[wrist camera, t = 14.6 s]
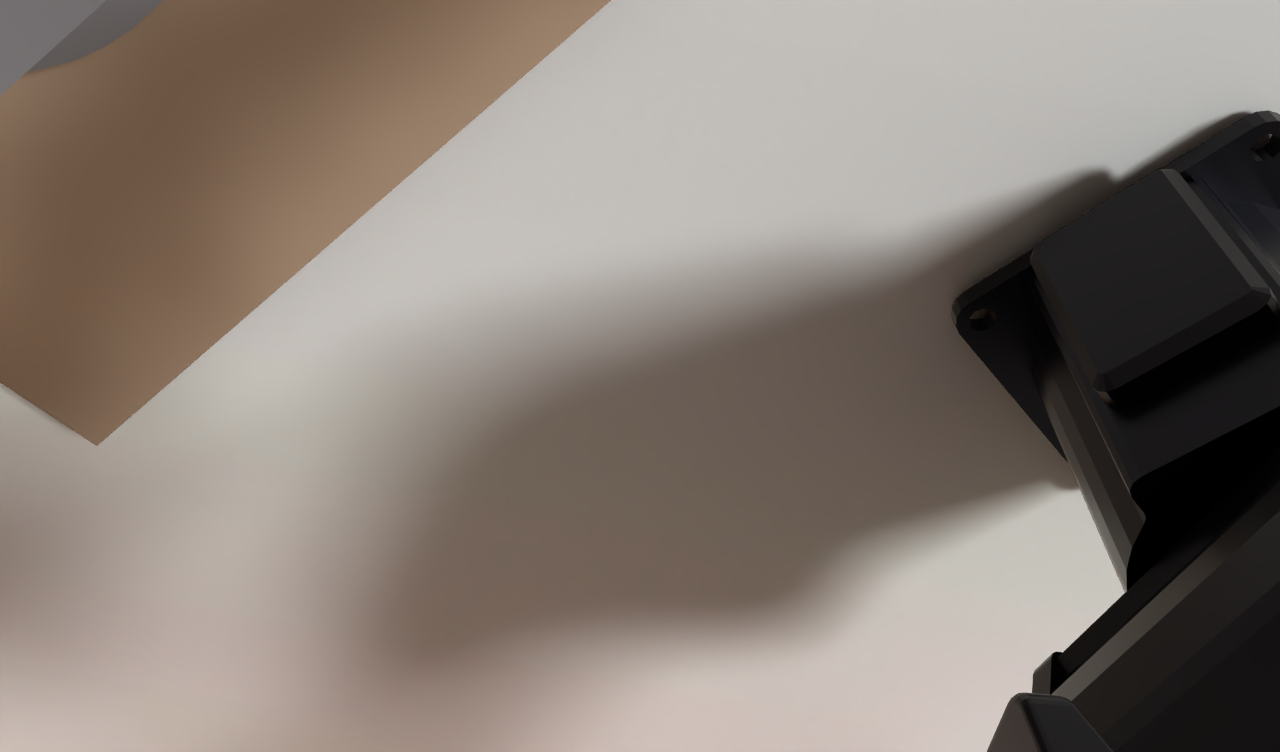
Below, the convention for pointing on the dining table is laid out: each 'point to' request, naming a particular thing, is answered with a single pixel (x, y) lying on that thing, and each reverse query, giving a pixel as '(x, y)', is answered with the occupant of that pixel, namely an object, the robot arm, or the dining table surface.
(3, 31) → the duct collar
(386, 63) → the duct base
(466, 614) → the dining table surface
